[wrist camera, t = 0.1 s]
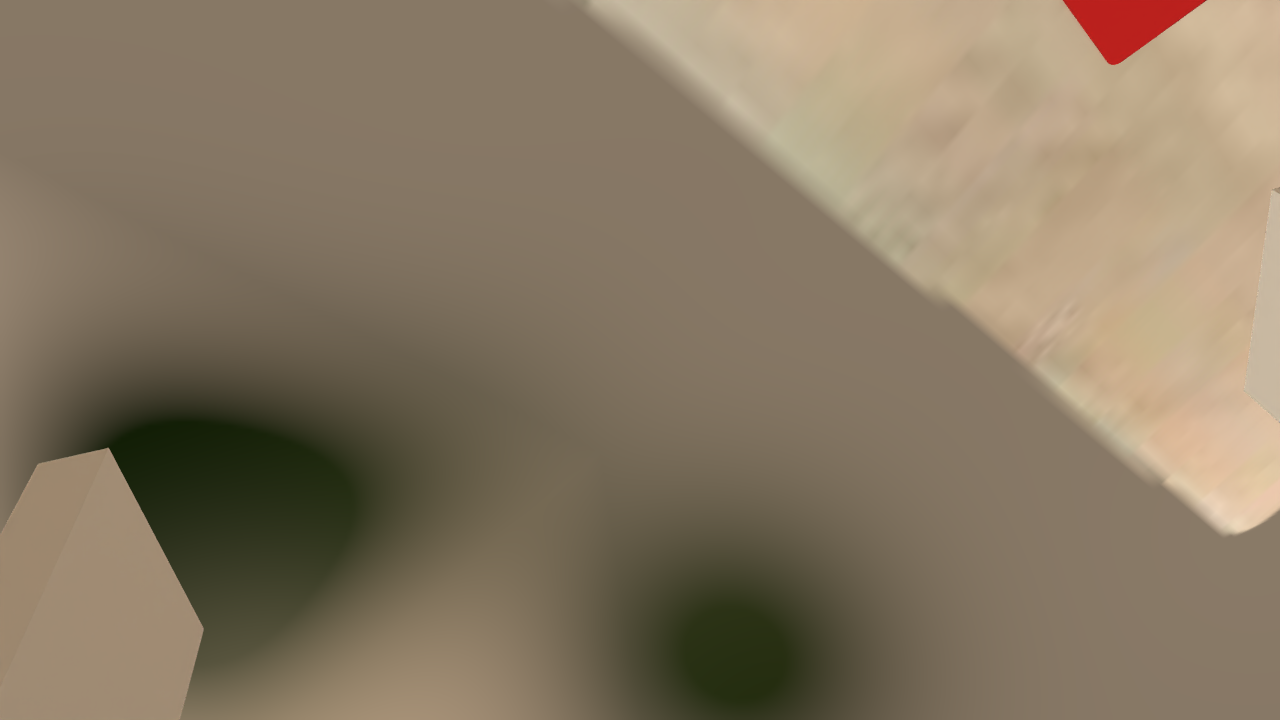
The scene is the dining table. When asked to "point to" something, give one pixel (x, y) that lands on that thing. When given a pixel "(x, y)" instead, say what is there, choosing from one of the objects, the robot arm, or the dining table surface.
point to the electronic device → (1127, 22)
